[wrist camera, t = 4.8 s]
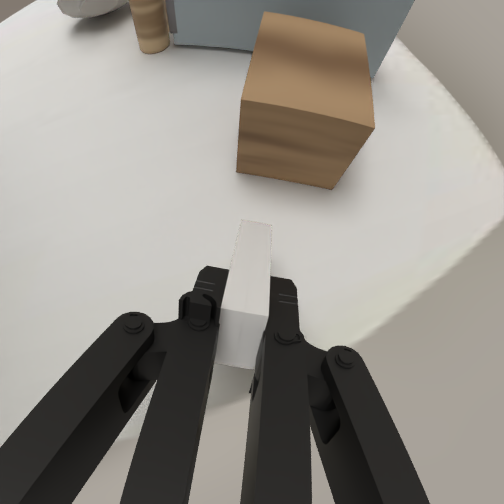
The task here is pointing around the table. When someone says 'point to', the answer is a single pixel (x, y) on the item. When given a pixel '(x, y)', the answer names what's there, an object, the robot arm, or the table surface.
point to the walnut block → (304, 101)
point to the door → (288, 3)
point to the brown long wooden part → (150, 24)
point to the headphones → (89, 7)
